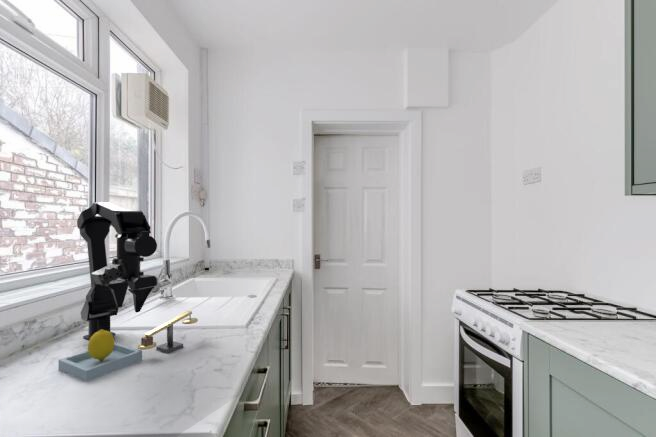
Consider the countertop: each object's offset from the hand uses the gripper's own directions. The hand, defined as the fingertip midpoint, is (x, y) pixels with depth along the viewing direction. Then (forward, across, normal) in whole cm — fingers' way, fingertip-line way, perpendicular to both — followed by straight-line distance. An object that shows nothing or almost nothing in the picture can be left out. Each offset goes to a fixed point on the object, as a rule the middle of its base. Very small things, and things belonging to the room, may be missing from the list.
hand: (128, 309), depth 91 cm
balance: (+12, +9, +7) cm, 16 cm away
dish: (+12, +3, -8) cm, 15 cm away
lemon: (+11, +3, -8) cm, 14 cm away
